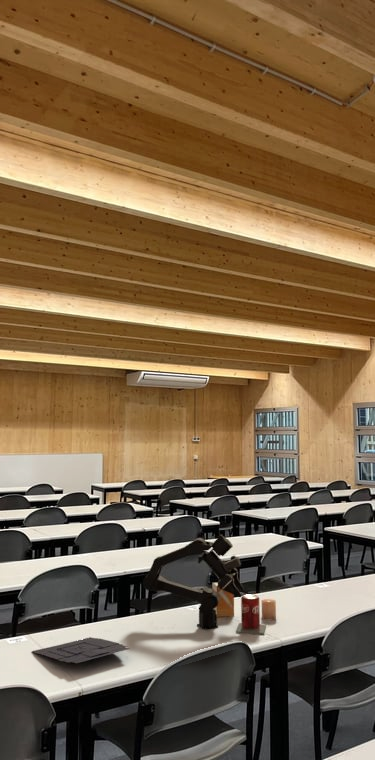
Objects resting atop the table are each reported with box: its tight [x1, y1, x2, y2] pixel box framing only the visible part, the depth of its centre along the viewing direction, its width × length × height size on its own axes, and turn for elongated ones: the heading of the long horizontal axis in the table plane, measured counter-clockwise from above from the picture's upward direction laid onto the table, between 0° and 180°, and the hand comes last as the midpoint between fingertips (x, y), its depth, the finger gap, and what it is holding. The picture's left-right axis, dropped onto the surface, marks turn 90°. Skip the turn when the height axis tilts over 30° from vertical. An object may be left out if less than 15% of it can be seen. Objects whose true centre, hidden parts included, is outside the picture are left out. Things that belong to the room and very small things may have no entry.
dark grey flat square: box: [31, 636, 131, 664], centre depth 193 cm, size 24×30×4 cm
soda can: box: [240, 594, 261, 630], centre depth 222 cm, size 7×7×12 cm
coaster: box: [235, 622, 267, 636], centre depth 221 cm, size 11×11×1 cm
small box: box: [211, 582, 235, 618], centre depth 243 cm, size 8×6×13 cm
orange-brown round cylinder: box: [261, 598, 277, 621], centre depth 237 cm, size 6×6×7 cm
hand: (242, 593), depth 224 cm, fingers open, 9 cm apart
